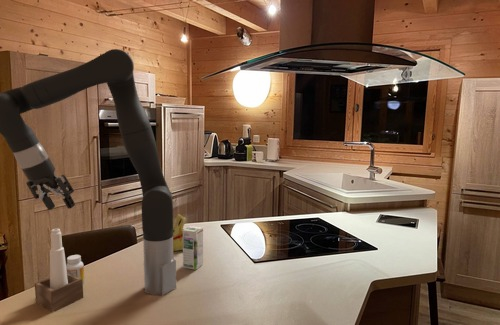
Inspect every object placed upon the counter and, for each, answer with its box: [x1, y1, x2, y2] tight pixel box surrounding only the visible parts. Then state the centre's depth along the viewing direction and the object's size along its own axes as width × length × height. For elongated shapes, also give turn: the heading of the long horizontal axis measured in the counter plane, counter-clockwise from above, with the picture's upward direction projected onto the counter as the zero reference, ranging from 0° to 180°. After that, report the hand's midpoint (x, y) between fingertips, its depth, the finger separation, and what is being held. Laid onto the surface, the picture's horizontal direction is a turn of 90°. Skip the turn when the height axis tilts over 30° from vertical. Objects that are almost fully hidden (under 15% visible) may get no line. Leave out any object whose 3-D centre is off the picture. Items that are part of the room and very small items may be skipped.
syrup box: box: [182, 225, 204, 271], centre depth 131 cm, size 6×6×14 cm
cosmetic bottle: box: [49, 228, 68, 290], centre depth 105 cm, size 6×6×22 cm
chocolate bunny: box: [173, 213, 187, 252], centre depth 146 cm, size 7×11×15 cm, turn 116°
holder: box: [34, 273, 84, 312], centre depth 106 cm, size 9×9×6 cm
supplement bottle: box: [66, 254, 85, 286], centre depth 115 cm, size 5×5×10 cm
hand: (61, 207), depth 108 cm, fingers open, 8 cm apart
